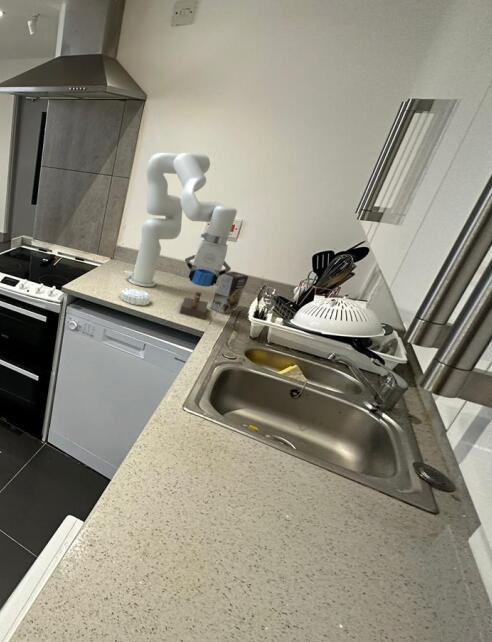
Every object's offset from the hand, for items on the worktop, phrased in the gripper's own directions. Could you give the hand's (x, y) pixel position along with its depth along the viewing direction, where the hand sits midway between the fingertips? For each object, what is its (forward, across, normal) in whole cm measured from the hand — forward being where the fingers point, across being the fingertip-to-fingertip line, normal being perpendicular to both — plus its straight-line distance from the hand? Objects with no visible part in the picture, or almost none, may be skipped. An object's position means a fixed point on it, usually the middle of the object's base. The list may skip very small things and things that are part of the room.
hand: (201, 282), depth 157 cm
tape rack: (+14, 0, +3) cm, 14 cm away
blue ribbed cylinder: (+1, 0, 0) cm, 1 cm away
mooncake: (+14, -22, -2) cm, 27 cm away
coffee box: (+14, +12, +14) cm, 23 cm away
